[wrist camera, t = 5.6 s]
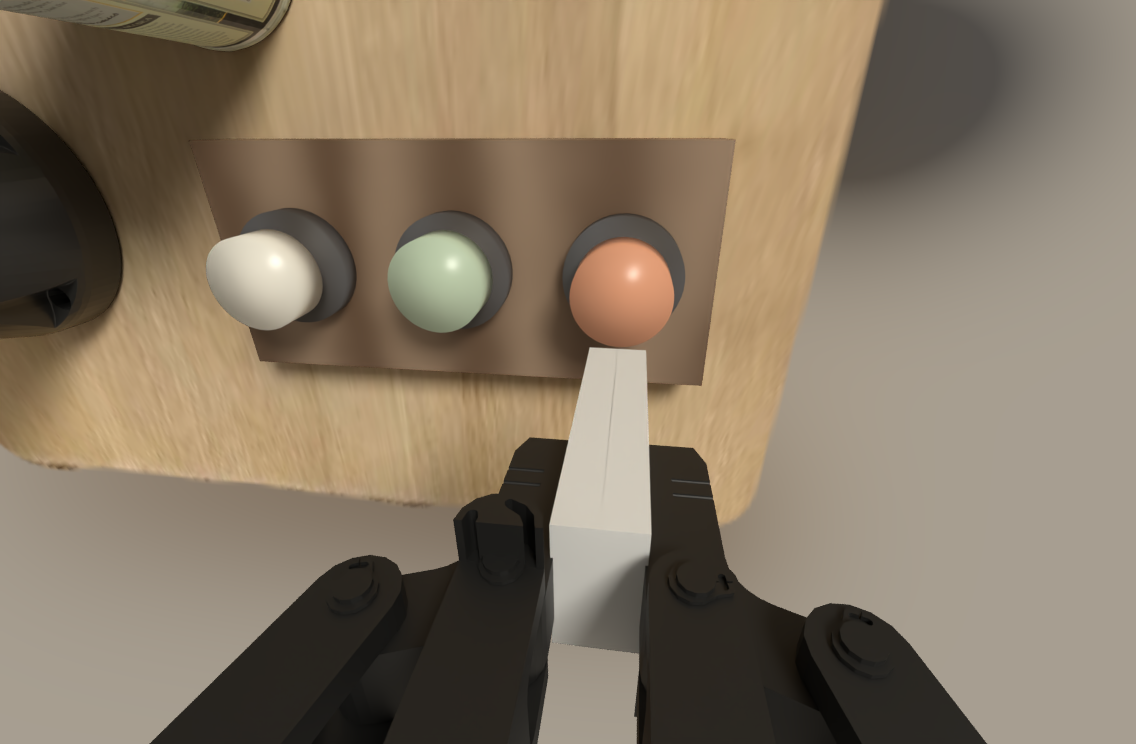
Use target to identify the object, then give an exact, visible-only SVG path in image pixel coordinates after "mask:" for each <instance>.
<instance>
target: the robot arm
mask: <svg viewBox="0 0 1136 744" xmlns="http://www.w3.org/2000/svg"><path fill="white" fill-rule="evenodd" d="M120 275H121V257H120V249H119V244H118V239H117V235H116V231H115V228H114V225H113V222H112V220H111V217H110V214H109V212H108V210H107V207H106V205H105V203H104V201H103V199H102V197H101V195H100V193H99V191H98V190H97V188H96V186H95V184H94V183H93V181H92V180H91V178H90V176H89V175H88V173H87V172H86V170H85V169H84V168H83V166H82V165H81V163H80V162H79V161H78V159H77V158H76V157H75V156H74V154H73V153H72V152H71V151H70V149H69V148H68V147H67V146H66V145H65V144H64V142H63V141H62V140H61V139H60V138H59V137H58V136H57V135H56V134H55V133H54V132H53V131H52V130H51V129H50V128H49V127H48V126H47V125H46V124H45V123H44V122H43V121H42V120H40V119H39V118H38V117H37V116H36V115H35V114H33V113H32V112H31V111H30V110H29V109H27V108H26V107H25V106H23V105H22V104H21V103H19V102H18V101H17V100H15V99H14V98H12V97H11V96H9V95H8V94H6V93H4V92H3V91H1V90H0V339H3V338H17V337H31V336H41V335H46V334H51V333H55V332H59V331H61V330H64V329H67V328H70V327H73V326H76V325H79V324H81V323H84V322H87V321H89V320H92V319H94V318H95V317H97V316H99V315H100V314H101V313H102V312H104V311H105V310H106V309H107V307H108V306H109V305H110V304H111V302H112V301H113V299H114V297H115V295H116V292H117V289H118V286H119V282H120ZM453 521H454V528H455V535H456V542H457V549H458V556H459V561H457V562H455V563H453V564H450V565H448V566H445V567H442V568H438V569H434V570H428V571H423V572H416V573H411V574H405V575H401V572H400V570H399V568H398V566H397V564H395V563H394V562H392V561H390V560H389V559H387V558H386V557H380V556H373V555H368V556H362V557H356V558H352V559H349V560H347V561H345V562H342V563H340V564H338V565H335V566H334V567H332V568H331V569H330V570H328V571H327V572H326V573H325V574H324V575H322V576H321V577H319V578H318V579H317V580H316V581H315V582H314V583H313V584H312V585H311V586H310V587H309V588H308V589H307V590H306V591H305V592H304V593H303V594H302V595H301V596H300V597H299V598H298V599H297V600H296V601H295V602H294V603H293V604H292V605H291V606H290V607H289V608H288V609H287V610H286V611H285V612H283V613H282V614H281V616H279V617H278V618H277V619H276V620H275V621H274V622H273V623H272V624H271V625H270V626H269V627H268V628H267V629H266V630H265V631H264V632H263V633H262V634H261V635H260V636H259V637H258V638H257V639H256V640H255V641H254V642H253V643H252V644H251V645H250V646H249V647H248V648H247V649H246V650H245V651H244V652H243V653H242V654H241V655H240V656H239V657H238V658H237V659H236V660H235V661H234V662H232V663H231V665H229V666H228V667H227V668H226V669H225V670H224V671H223V672H222V674H220V675H219V676H218V677H217V678H216V679H215V680H214V681H213V682H212V683H211V684H210V685H209V686H208V687H207V688H206V689H205V690H204V691H203V692H202V693H201V694H200V695H199V696H198V697H197V698H196V699H195V700H194V701H193V702H192V703H191V704H190V705H189V706H188V707H187V708H186V709H185V710H184V711H183V712H181V714H179V715H178V717H176V718H175V719H174V720H173V721H172V722H171V723H170V724H169V725H168V726H167V727H166V728H165V729H164V730H163V731H162V732H161V733H160V734H159V735H158V736H157V737H156V738H155V739H154V740H153V741H152V742H151V743H150V744H537V742H538V736H539V730H540V723H541V717H542V711H543V705H544V698H545V693H546V687H547V680H548V651H549V646H550V640H551V635H552V642H553V643H559V644H567V645H575V646H583V647H591V648H599V649H607V650H615V651H623V652H631V653H639V676H638V685H637V695H636V704H635V714H634V716H635V717H637V744H987V743H986V742H985V741H984V740H983V738H982V737H981V735H980V734H979V733H978V732H977V730H976V729H975V728H974V727H973V725H972V724H971V723H970V721H969V720H968V719H967V717H966V716H965V715H964V714H963V712H962V711H961V710H960V708H959V707H958V706H957V704H956V703H955V702H954V701H953V699H952V698H951V697H950V695H949V694H948V693H947V692H946V690H945V689H944V688H943V686H942V685H941V684H940V683H939V681H938V680H937V679H936V677H935V676H934V675H933V673H932V672H931V671H930V670H929V668H928V667H927V666H926V664H925V663H924V662H923V661H922V659H921V658H920V657H919V656H918V654H917V653H916V652H915V650H914V649H913V648H912V646H911V645H910V644H909V643H908V642H907V641H906V640H905V639H904V638H903V637H902V636H901V635H900V634H899V633H898V632H897V631H896V630H895V629H894V628H893V627H892V626H891V625H890V624H888V623H886V622H885V621H883V620H882V619H880V618H879V617H877V616H875V615H874V614H872V613H871V612H868V611H865V610H862V609H860V608H857V607H854V606H851V605H846V604H832V603H830V604H826V605H823V606H820V607H817V608H814V610H813V611H812V612H811V613H810V614H809V616H808V617H807V618H806V617H804V616H801V615H798V614H796V613H793V612H791V611H788V610H785V609H783V608H780V607H777V606H775V605H772V604H770V603H768V602H766V601H764V600H762V599H760V598H758V597H757V596H755V595H754V594H752V593H751V592H749V591H748V590H746V589H745V588H744V587H743V586H742V585H741V584H740V583H739V582H738V580H737V578H736V576H735V575H734V573H733V572H732V571H731V570H730V569H729V568H728V565H727V562H726V559H725V555H724V550H723V545H722V540H721V535H720V530H719V525H718V520H717V515H716V510H715V505H714V500H713V495H712V490H711V485H710V480H709V475H708V470H707V465H706V463H705V462H704V461H703V459H702V458H701V457H700V456H699V454H698V453H697V452H696V451H695V450H694V448H685V447H672V446H659V445H649V432H648V398H647V364H646V350H630V349H611V348H591V347H590V349H589V353H588V357H587V362H586V366H585V371H584V375H583V379H582V384H581V388H580V393H579V397H578V401H577V406H576V410H575V414H574V419H573V423H572V428H571V432H570V436H569V440H557V439H543V438H529V439H528V440H527V441H525V442H524V443H523V444H522V445H521V446H520V447H519V448H518V449H517V450H515V453H514V455H513V458H512V461H511V463H510V466H509V470H508V471H507V473H506V476H505V479H504V484H502V486H501V489H500V492H499V494H490V495H487V496H484V497H481V498H477V499H475V500H474V501H472V502H471V503H469V504H467V505H466V506H464V507H463V508H462V509H461V510H460V512H459V513H458V514H457V516H456V517H455V518H454V520H453Z"/></svg>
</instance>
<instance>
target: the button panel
mask: <svg viewBox="0 0 1136 744" xmlns="http://www.w3.org/2000/svg"><path fill="white" fill-rule="evenodd" d="M189 142H190V146H191V149H192V152H193V155H194V158H195V161H196V164H197V167H198V170H199V173H200V177H201V180H202V183H203V186H204V189H205V192H206V195H207V198H208V201H209V204H210V208H211V211H212V214H213V217H214V220H215V223H216V226H217V229H218V232H219V235H220V239H221V241H222V240H225V239H228V238H231V237H235V236H239V235H243V234H246V233H250V232H254V231H257V230H262V229H272V230H277V231H281V232H283V233H286V234H288V235H290V236H292V237H293V238H295V239H296V240H297V241H299V242H300V243H301V244H302V245H303V246H304V247H305V248H306V249H307V250H308V251H309V252H310V253H311V255H312V256H313V258H314V259H315V261H316V263H317V265H318V267H319V270H320V273H321V276H322V284H323V288H322V295H321V298H320V301H319V302H318V304H317V306H316V307H315V308H314V309H313V310H311V311H310V312H308V313H306V314H305V315H303V316H301V317H299V318H298V319H296V320H294V321H292V322H290V323H289V324H287V325H285V326H283V327H281V328H279V329H275V330H259V329H255V328H252V327H249V328H250V332H251V335H252V338H253V341H254V344H255V347H256V350H257V353H258V356H259V359H260V361H268V362H286V363H304V364H322V365H340V366H358V367H376V368H394V369H411V370H429V371H447V372H465V373H483V374H501V375H519V376H537V377H555V378H573V379H583V375H584V371H585V366H586V362H587V357H588V353H589V349H590V347H591V348H611V349H630V350H646V364H647V383H663V384H681V385H699V386H702V380H703V372H704V365H705V358H706V351H707V343H708V336H709V329H710V322H711V314H712V307H713V300H714V293H715V285H716V278H717V271H718V264H719V256H720V249H721V242H722V235H723V227H724V220H725V213H726V205H727V198H728V191H729V184H730V176H731V169H732V162H733V155H734V147H735V140H734V139H726V138H577V139H215V140H189ZM437 230H450V231H454V232H457V233H460V234H462V235H464V236H466V237H468V238H469V239H471V240H472V241H474V242H475V243H476V244H477V245H478V246H479V247H480V248H481V249H482V251H483V252H484V254H485V255H486V257H487V259H488V261H489V263H490V266H491V270H492V276H493V285H492V291H491V294H490V297H489V299H488V300H487V302H486V304H485V305H484V306H483V307H482V308H481V310H480V311H479V312H478V313H477V314H476V315H475V317H474V318H473V319H472V320H471V321H470V322H469V323H468V324H467V325H465V326H464V327H462V328H460V329H458V330H455V331H452V332H446V333H439V332H432V331H428V330H425V329H422V328H420V327H418V326H417V325H415V324H413V323H412V322H411V321H409V320H408V319H407V318H406V317H405V316H404V315H403V314H402V313H401V312H400V311H399V309H398V308H397V306H396V305H395V303H394V301H393V299H392V297H391V294H390V291H389V287H388V268H389V265H390V262H391V260H392V258H393V256H394V255H395V253H396V252H397V251H398V250H399V249H400V248H401V247H402V246H404V245H405V244H407V243H409V242H411V241H413V240H415V239H417V238H419V237H421V236H423V235H425V234H427V233H429V232H432V231H437ZM617 237H631V238H636V239H639V240H642V241H644V242H646V243H648V244H650V245H651V246H653V247H654V248H655V249H656V250H657V251H658V252H659V253H660V254H661V255H662V256H663V258H664V259H665V261H666V263H667V265H668V268H669V271H670V275H671V279H672V284H673V288H674V305H673V309H672V313H671V315H670V317H669V320H668V321H667V323H666V324H665V326H664V327H663V328H662V329H661V331H660V332H658V333H657V334H656V335H655V336H654V337H652V338H651V339H649V340H647V341H646V342H643V343H641V344H638V345H635V346H630V347H613V346H608V345H605V344H602V343H599V342H597V341H595V340H594V339H592V338H591V337H589V336H588V335H587V334H586V333H585V332H584V331H583V330H582V329H581V328H580V327H579V325H578V324H577V322H576V321H575V319H574V317H573V314H572V311H571V307H570V298H569V297H570V288H571V284H572V281H573V278H574V276H575V273H576V271H577V269H578V266H579V264H580V262H581V260H582V259H583V257H584V256H585V255H586V254H587V253H588V252H589V250H591V249H592V248H593V247H594V246H596V245H597V244H599V243H601V242H603V241H605V240H608V239H611V238H617Z"/></svg>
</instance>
